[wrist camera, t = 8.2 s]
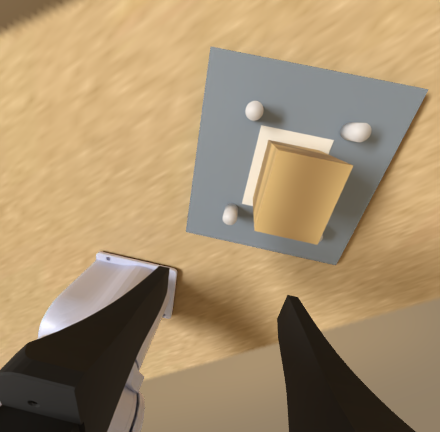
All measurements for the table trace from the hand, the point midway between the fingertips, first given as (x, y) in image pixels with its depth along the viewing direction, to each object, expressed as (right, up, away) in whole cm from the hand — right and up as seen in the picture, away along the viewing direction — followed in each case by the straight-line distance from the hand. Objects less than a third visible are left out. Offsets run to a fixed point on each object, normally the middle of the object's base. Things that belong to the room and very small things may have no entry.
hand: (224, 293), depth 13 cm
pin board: (+5, +9, +6) cm, 12 cm away
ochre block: (+5, +8, +5) cm, 11 cm away
